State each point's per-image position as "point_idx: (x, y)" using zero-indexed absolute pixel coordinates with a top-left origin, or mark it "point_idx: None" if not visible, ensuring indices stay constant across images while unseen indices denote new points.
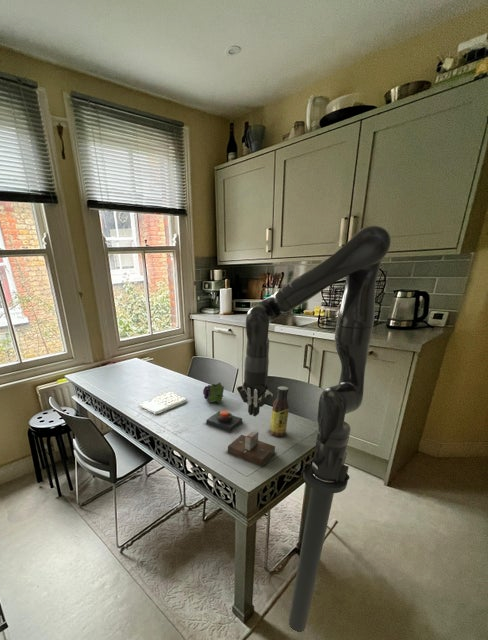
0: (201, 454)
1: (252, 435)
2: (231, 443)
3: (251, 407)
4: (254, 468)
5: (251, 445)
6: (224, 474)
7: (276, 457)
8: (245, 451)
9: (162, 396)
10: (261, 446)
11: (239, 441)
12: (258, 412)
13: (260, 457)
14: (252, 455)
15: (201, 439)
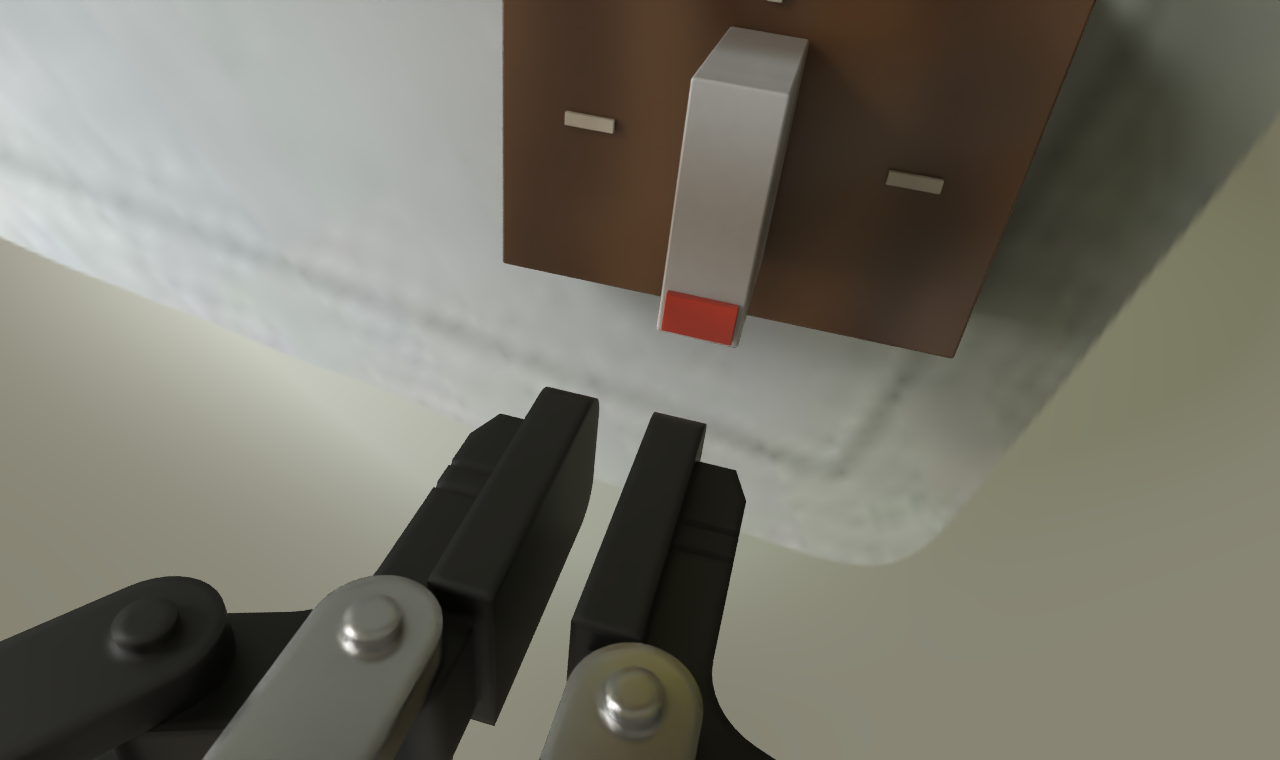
0: (362, 337)
1: (732, 255)
2: (508, 199)
3: (509, 681)
4: (876, 360)
5: (762, 249)
6: None
7: (1112, 64)
8: None
9: None
10: (883, 97)
11: (569, 120)
12: (730, 535)
13: (921, 337)
14: (820, 329)
15: (180, 105)
